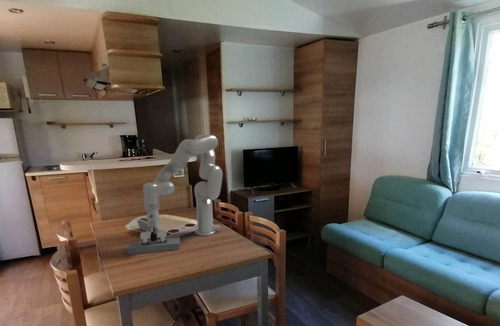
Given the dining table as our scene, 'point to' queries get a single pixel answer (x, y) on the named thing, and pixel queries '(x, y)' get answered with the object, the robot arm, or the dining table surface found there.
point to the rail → (153, 246)
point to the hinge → (144, 224)
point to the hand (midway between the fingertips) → (154, 239)
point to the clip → (159, 234)
